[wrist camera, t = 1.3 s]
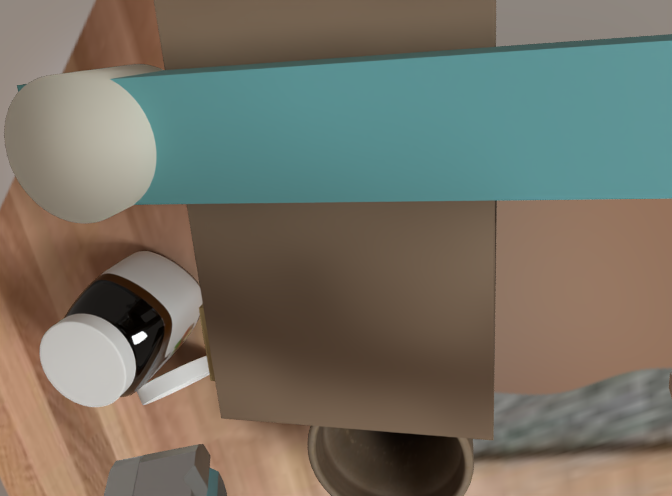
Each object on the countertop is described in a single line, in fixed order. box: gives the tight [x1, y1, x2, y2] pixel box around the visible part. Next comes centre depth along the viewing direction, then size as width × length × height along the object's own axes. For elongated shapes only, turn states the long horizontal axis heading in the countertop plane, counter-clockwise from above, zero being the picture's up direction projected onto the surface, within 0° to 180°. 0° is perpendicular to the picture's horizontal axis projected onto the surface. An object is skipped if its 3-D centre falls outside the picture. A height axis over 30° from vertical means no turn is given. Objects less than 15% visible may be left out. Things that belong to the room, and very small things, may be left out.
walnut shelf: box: [154, 0, 497, 440], centre depth 31 cm, size 22×10×26 cm, turn 5°
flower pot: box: [308, 426, 474, 496], centre depth 47 cm, size 12×11×10 cm
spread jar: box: [40, 251, 210, 407], centre depth 49 cm, size 12×11×12 cm
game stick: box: [4, 34, 672, 223], centre depth 16 cm, size 4×22×4 cm, turn 95°
